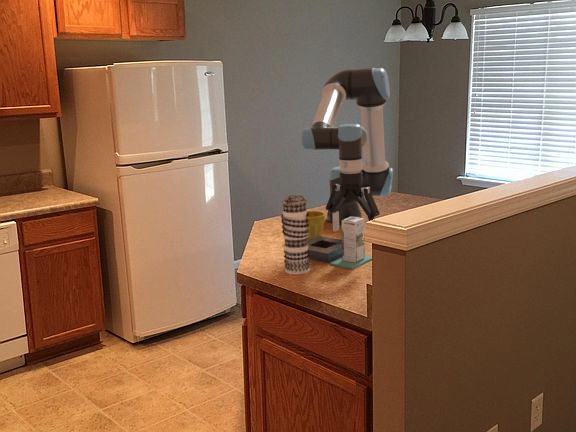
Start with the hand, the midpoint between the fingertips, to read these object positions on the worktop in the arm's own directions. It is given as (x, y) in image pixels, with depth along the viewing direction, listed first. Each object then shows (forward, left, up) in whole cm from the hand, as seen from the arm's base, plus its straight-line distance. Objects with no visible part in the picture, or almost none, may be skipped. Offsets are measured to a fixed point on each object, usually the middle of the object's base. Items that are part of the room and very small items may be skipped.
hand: (352, 233), depth 214 cm
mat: (0, 0, -10) cm, 10 cm away
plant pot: (-16, -30, -10) cm, 35 cm away
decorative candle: (+17, -10, -10) cm, 23 cm away
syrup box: (0, 0, -9) cm, 10 cm away
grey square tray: (-2, -14, -10) cm, 17 cm away
